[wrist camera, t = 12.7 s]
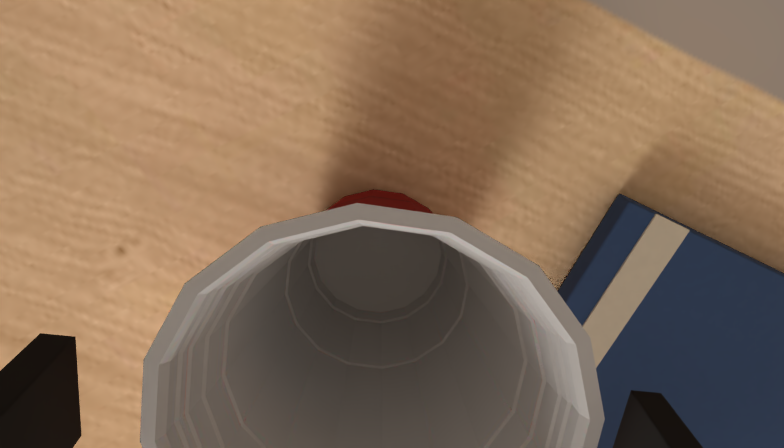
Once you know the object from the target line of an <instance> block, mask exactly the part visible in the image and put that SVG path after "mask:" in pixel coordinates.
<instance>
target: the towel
mask: <svg viewBox="0 0 784 448" xmlns="http://www.w3.org/2000/svg"><path fill="white" fill-rule="evenodd" d="M558 293H559V294H560V296H561V297H562V299H563V300H564V302H565V303H566V304H567V306H568V307H569V309H570V310H571V311H572V313H573V314H574V316H575V317H576V318H577V320H578V321H579V323H580V324H581V325H582V327H583V328H584V330H585V331H586V332H587V334H588V335H589V337H590V338H591V344H592V349H593V355H594V361H595V366H596V372H597V378H598V383H599V389H600V395H601V400H602V406H603V411H604V417H605V420H604V424H603V427H602V431H601V435H600V439H599V442H598V446H597V448H613V445H614V442H615V439H616V436H617V432H618V429H619V426H620V423H621V420H622V417H623V414H624V411H625V407H626V404H627V401H628V398H629V395H630V392H631V390H635V391H645V392H656V393H662V395H663V396H664V397H665V399H666V400H667V401H668V403H669V404H670V405H671V406H672V408H673V409H674V410H675V412H676V413H677V414H678V416H679V417H680V418H681V420H682V421H683V422H684V423H685V425H686V426H687V427H688V429H689V430H690V431H691V433H692V434H693V435H694V436H695V438H696V439H697V440H698V442H699V443H700V444H701V446H702V447H703V448H784V273H782V272H780V271H778V270H776V269H774V268H772V267H770V266H768V265H766V264H764V263H762V262H760V261H758V260H755V259H753V258H751V257H749V256H747V255H745V254H743V253H741V252H739V251H737V250H735V249H733V248H731V247H729V246H727V245H725V244H723V243H721V242H719V241H716V240H714V239H712V238H710V237H708V236H706V235H704V234H702V233H700V232H698V231H696V230H694V229H692V228H690V227H688V226H686V225H684V224H682V223H679V222H677V221H675V220H673V219H671V218H669V217H667V216H665V215H663V214H661V213H659V212H657V211H655V210H653V209H651V208H649V207H647V206H645V205H642V204H640V203H638V202H636V201H634V200H632V199H630V198H628V197H626V196H624V195H622V194H619V195H618V196H617V197H616V199H615V201H614V202H613V204H612V205H611V207H610V209H609V210H608V212H607V213H606V215H605V217H604V218H603V220H602V221H601V223H600V225H599V226H598V228H597V229H596V231H595V233H594V234H593V236H592V237H591V239H590V241H589V242H588V244H587V245H586V247H585V249H584V250H583V252H582V253H581V255H580V257H579V258H578V260H577V261H576V263H575V265H574V266H573V268H572V269H571V271H570V273H569V274H568V276H567V277H566V279H565V281H564V282H563V284H562V285H561V287H560V289H559V290H558Z"/></svg>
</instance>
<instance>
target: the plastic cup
mask: <svg viewBox="0 0 784 448" xmlns="http://www.w3.org/2000/svg"><path fill="white" fill-rule="evenodd" d="M604 420H605V417H604V411H603V406H602V400H601V395H600V389H599V383H598V378H597V372H596V366H595V361H594V355H593V349H592V344H591V338H590V337H589V335H588V334H587V332H586V331H585V330H584V328H583V327H582V325H581V324H580V323H579V321H578V320H577V318H576V317H575V316H574V314H573V313H572V311H571V310H570V309H569V307H568V306H567V304H566V303H565V302H564V300H563V299H562V297H561V296H560V294H559V293H558V292H557V290H556V289H555V287H554V286H553V285H552V283H551V282H550V280H549V279H548V278H547V276H546V275H545V273H544V272H543V271H542V269H541V268H540V266H539V265H537V264H535V263H533V262H532V261H530V260H528V259H527V258H525V257H523V256H522V255H520V254H518V253H517V252H515V251H513V250H511V249H510V248H508V247H506V246H505V245H503V244H501V243H500V242H498V241H496V240H495V239H493V238H491V237H489V236H488V235H486V234H484V233H483V232H481V231H479V230H478V229H476V228H474V227H473V226H471V225H469V224H467V223H466V222H464V221H462V220H461V219H459V218H457V217H452V216H445V215H438V214H433V213H432V212H431V211H430V210H429V209H428V208H427V207H425V206H424V205H422V204H420V203H418V202H417V201H415V200H413V199H411V198H410V197H408V196H406V195H404V194H402V193H395V192H388V191H381V190H374V189H373V190H369V191H365V192H361V193H357V194H353V195H349V196H345V197H343V198H342V199H341V200H339V201H338V202H336V203H335V204H334V205H332V206H331V207H330V208H328V209H327V210H325V211H322V212H318V213H314V214H310V215H306V216H302V217H298V218H294V219H290V220H286V221H282V222H278V223H274V224H270V225H266V226H262V227H259V228H258V229H257V230H255V231H254V232H253V233H251V234H250V235H249V236H247V237H246V238H245V239H243V240H242V241H241V242H239V243H238V244H237V245H235V246H234V247H233V248H231V249H230V250H229V251H227V252H226V253H225V254H223V255H222V256H221V257H219V258H218V259H217V260H215V261H214V262H213V263H211V264H210V265H209V266H207V267H206V268H205V269H203V270H202V271H201V272H199V273H198V274H197V275H195V276H194V277H193V278H191V279H190V280H189V281H187V282H186V283H185V284H184V286H183V288H182V290H181V292H180V294H179V295H178V297H177V299H176V301H175V303H174V305H173V306H172V308H171V310H170V312H169V314H168V316H167V318H166V319H165V321H164V323H163V325H162V327H161V329H160V330H159V332H158V334H157V336H156V338H155V340H154V342H153V343H152V345H151V347H150V349H149V351H148V353H147V355H146V356H145V358H144V363H143V386H142V408H141V430H140V443H141V445H142V447H143V448H597V446H598V442H599V439H600V435H601V431H602V427H603V424H604Z"/></svg>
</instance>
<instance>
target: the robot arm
mask: <svg viewBox="0 0 784 448" xmlns="http://www.w3.org/2000/svg"><path fill="white" fill-rule="evenodd" d="M80 437H81V422H80V405H79V389H78V373H77V356H76V340H75V337H72V336H62V335H51V334H41V333H40V334H39V335H38V336H37V337H36V338H35V339H34V340H33V341H32V342H31V343H30V344H29V345H28V346H27V347H25V348H24V349H23V350H22V351H21V352H20V353H19V354H18V355H17V356H16V357H15V358H14V359H13V360H12V361H10V362H9V363H8V364H7V365H6V366H5V367H4V368H3V369H2V370H1V371H0V448H73V447H74V445H75V444H76V442H77V441H78V440H79V438H80ZM613 448H703V447H702V446H701V444H700V443H699V442H698V440H697V439H696V438H695V436H694V435H693V434H692V433H691V431H690V430H689V429H688V427H687V426H686V425H685V423H684V422H683V421H682V420H681V418H680V417H679V416H678V414H677V413H676V412H675V410H674V409H673V408H672V406H671V405H670V404H669V403H668V401H667V400H666V399H665V397H664V396H663V395H662V393H656V392H645V391H635V390H631V392H630V395H629V398H628V401H627V404H626V407H625V411H624V414H623V417H622V420H621V423H620V426H619V429H618V432H617V436H616V439H615V442H614V445H613Z"/></svg>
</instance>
